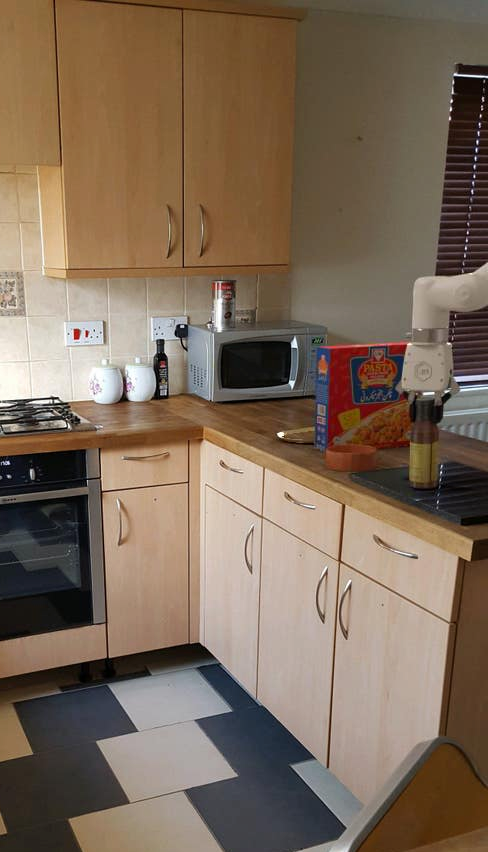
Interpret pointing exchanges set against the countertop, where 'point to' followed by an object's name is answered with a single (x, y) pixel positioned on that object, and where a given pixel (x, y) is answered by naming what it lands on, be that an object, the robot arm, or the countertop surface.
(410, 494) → the countertop surface
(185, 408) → the countertop surface
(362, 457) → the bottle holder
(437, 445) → the sauce bottle
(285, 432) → the serving platter
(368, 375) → the pasta box
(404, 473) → the countertop surface
